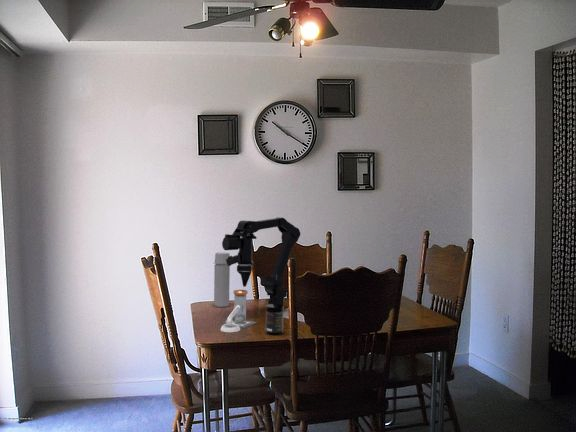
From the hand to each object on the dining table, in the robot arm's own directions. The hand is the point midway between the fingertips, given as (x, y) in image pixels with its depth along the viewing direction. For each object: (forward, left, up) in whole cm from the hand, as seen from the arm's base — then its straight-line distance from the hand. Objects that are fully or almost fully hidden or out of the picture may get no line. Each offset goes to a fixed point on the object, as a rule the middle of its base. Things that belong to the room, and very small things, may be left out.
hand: (245, 284), depth 232 cm
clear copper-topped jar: (+1, +18, -12) cm, 22 cm away
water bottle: (+12, -18, -13) cm, 25 cm away
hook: (+4, +27, -13) cm, 30 cm away
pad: (+1, +18, -13) cm, 22 cm away
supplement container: (-13, +31, -13) cm, 36 cm away
